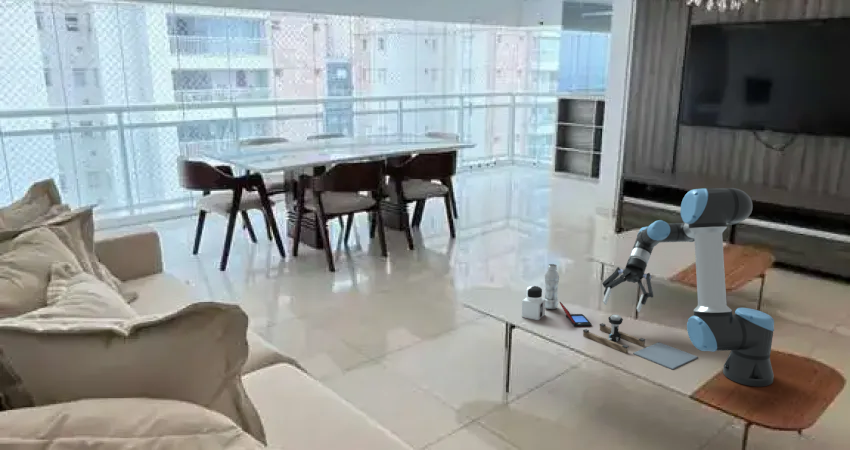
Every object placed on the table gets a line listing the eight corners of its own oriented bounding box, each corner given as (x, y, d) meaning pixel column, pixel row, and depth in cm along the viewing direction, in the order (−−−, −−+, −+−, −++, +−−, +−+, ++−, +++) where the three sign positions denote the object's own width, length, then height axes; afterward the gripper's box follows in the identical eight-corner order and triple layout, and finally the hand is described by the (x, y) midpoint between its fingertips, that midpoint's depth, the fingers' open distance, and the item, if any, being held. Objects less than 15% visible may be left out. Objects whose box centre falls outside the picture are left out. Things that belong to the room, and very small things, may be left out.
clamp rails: (644, 345, 232) (645, 339, 232) (625, 353, 226) (625, 346, 225) (602, 329, 248) (602, 323, 247) (582, 336, 241) (583, 329, 241)
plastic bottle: (542, 310, 269) (544, 267, 265) (543, 305, 276) (545, 262, 271) (557, 311, 268) (559, 267, 263) (558, 306, 274) (560, 263, 270)
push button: (613, 345, 233) (615, 320, 231) (602, 340, 237) (603, 316, 235) (624, 340, 237) (625, 316, 235) (612, 336, 241) (614, 312, 239)
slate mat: (697, 357, 221) (697, 356, 221) (672, 369, 212) (672, 368, 212) (658, 343, 234) (658, 342, 234) (633, 353, 225) (633, 352, 225)
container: (545, 314, 264) (546, 286, 261) (538, 320, 257) (539, 291, 255) (528, 311, 268) (529, 283, 265) (521, 317, 261) (522, 288, 259)
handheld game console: (592, 327, 251) (593, 310, 249) (566, 328, 250) (567, 311, 248) (582, 316, 263) (583, 299, 261) (558, 316, 262) (558, 300, 261)
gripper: (670, 272, 243) (654, 318, 235) (610, 261, 259) (593, 304, 251) (667, 262, 238) (650, 309, 230) (606, 251, 253) (588, 295, 246)
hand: (620, 306), depth 240 cm, fingers open, 13 cm apart
